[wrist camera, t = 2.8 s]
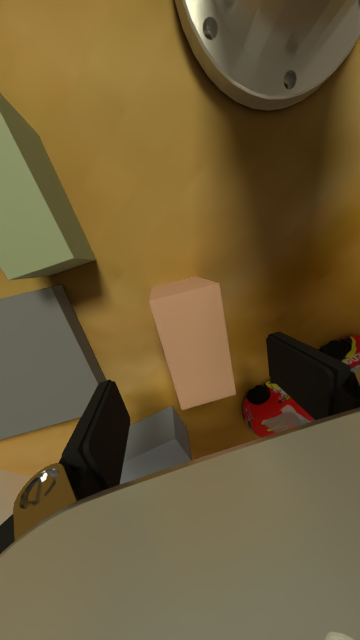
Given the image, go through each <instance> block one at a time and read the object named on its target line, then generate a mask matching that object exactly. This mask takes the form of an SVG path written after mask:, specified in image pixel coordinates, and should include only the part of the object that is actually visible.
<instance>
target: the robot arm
mask: <svg viewBox="0 0 360 640" xmlns="http://www.w3.org/2000/svg"><path fill="white" fill-rule="evenodd" d="M175 3H176V7H177V10H178V14H179V18H180V21H181V25H182V28H183V31H184V33H185V35H186V38H187V40H188V42H189V44H190V47H191V49H192V51H193V54H194V55H195V57H196V59H197V60H198V62H199V63H200V65H201V67H202V68H203V70H204V71H205V73H206V75H207V76H208V77H209V78H210V79H211V80H212V81H213V82H214V84H215V85H216V86H217V87H218V88H219V89H220V90H221V91H222V92H223V93H225V94H226V95H227V96H229V97H230V98H232V99H233V100H234V101H236V102H238V103H240V104H243V105H245V106H247V107H250V108H252V109H260V110H268V111H269V110H276V109H283V108H286V107H289V106H291V105H294V104H296V103H298V102H301V101H302V100H304V99H305V98H306V97H308V96H309V95H311V94H312V93H313V92H315V91H316V90H317V89H318V88H319V87H320V86H321V85H322V84H323V83H324V82H325V81H326V80H327V79H328V78H329V77H330V76H331V75H332V74H333V73H334V71H335V70H336V69H337V68H338V67H339V65H340V64H341V63H342V62H343V61H344V59H345V58H346V57H347V56H348V55H349V53H350V52H351V50H352V49H353V47H354V45H355V44H356V42H357V40H358V39H359V37H360V0H175ZM266 343H267V354H268V365H269V375H270V378H271V379H272V380H273V381H274V382H275V383H276V384H277V385H278V386H279V387H280V388H281V389H282V390H283V391H284V392H285V393H286V394H288V395H289V396H290V397H291V398H292V399H293V400H294V401H295V402H296V403H297V404H298V405H299V406H300V407H302V408H303V409H304V410H305V411H306V412H307V413H308V414H309V415H310V416H311V417H312V418H313V419H314V420H315V421H312V422H309V423H306V424H303V425H300V426H297V427H293V428H290V429H287V430H284V431H281V432H278V433H274V434H271V435H268V436H265V437H262V438H259V439H256V440H253V441H250V442H247V443H243V444H240V445H237V446H234V447H231V448H228V449H225V450H222V451H219V452H216V453H213V454H210V455H206V456H203V457H200V458H197V459H194V460H191V461H188V462H185V463H182V464H179V465H176V466H173V467H170V468H167V469H164V470H161V471H158V472H155V473H152V474H149V475H146V476H143V477H140V478H137V479H134V480H132V481H129V482H126V483H123V484H120V480H121V474H122V468H123V463H124V457H125V451H126V445H127V440H128V434H129V428H130V416H129V414H128V412H127V409H126V407H125V404H124V402H123V400H122V397H121V395H120V393H119V390H118V388H117V385H116V383H115V382H114V381H113V382H112V381H111V380H107V381H103V382H100V383H99V384H98V386H97V388H96V390H95V392H94V394H93V395H92V397H91V399H90V401H89V403H88V405H87V407H86V409H85V411H84V413H83V415H82V417H81V418H80V420H79V422H78V424H77V426H76V428H75V430H74V432H73V434H72V436H71V438H70V440H69V442H68V443H67V445H66V447H65V449H64V451H63V453H62V457H61V459H60V461H59V463H55V464H51V465H49V466H47V467H45V468H43V469H42V470H40V471H39V472H38V473H36V474H35V475H34V476H33V477H32V478H31V479H30V480H29V481H28V482H27V483H26V485H25V486H24V487H23V488H22V490H21V491H20V493H19V494H18V496H17V498H16V500H15V502H14V508H13V514H12V515H11V516H10V517H9V518H8V519H7V520H6V521H5V522H4V523H3V524H2V525H1V526H0V640H360V369H359V370H357V371H356V372H355V373H354V372H352V371H351V366H350V365H348V364H346V363H344V362H342V361H339V360H337V359H335V358H333V357H331V356H329V355H327V354H325V353H323V352H321V351H319V350H317V349H314V348H312V347H310V346H308V345H306V344H304V343H302V342H300V341H298V340H296V339H294V338H292V337H289V336H287V335H285V334H283V333H281V332H276V333H272V334H269V335H268V337H267V338H266Z"/></svg>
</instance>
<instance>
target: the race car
mask: <svg viewBox="0 0 360 640" xmlns="http://www.w3.org/2000/svg"><path fill="white" fill-rule="evenodd" d="M340 340H341V342H340V341H330V342H329V343H328V344H327V345H325V346H322V347H321V352H323V353H325V354H327V355H329V356H331V357H333V358H335V359H337V360H339V361H342V362H344V363H346V364H348V365H350V366H351V371H352V372H354V373H355V372H356V371H357V370H359V369H360V336H348V337H345V338H342V339H340ZM265 384H266V386H267V388H268V389H267V388H266V387H264V386H262V385H257V386H256V387H255V388H253V389H251V390H249V391H248V398H249V400H250V401H251V403H250V402H249V401H248V399H247V398H245V400H244V404H243V417H244V420H245V422H246V424H247V426H248V427H249V428H250V429H251V430H252V431H253V432H254V433H255V434H257V435H258V436H260V437H265V436H268V435H271V434H274V433H278V432H281V431H284V430H287V429H290V428H293V427H297V426H300V425H303V424H306V423H309V422H312V421H315V420H314V419H313V418H312V417H311V416H310V415H309V414H308V413H307V412H306V411H305V410H304V409H303V408H302V407H300V406H299V405H298V404H297V403H296V402H295V401H294V400H293V399H292V398H291V397H290V396H289V395H288V394H286V393H285V392H284V391H283V390H282V389H281V388H280V387H279V386H278V385H277V384H276V383H275V382H274V381H273V380H272V379H271V380H270V381H268V382H266V383H265ZM268 390H269V391H270V392H269V391H268Z"/></svg>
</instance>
